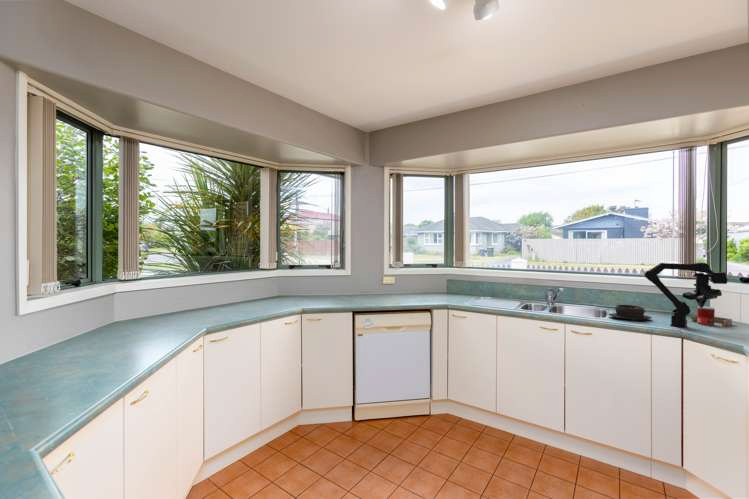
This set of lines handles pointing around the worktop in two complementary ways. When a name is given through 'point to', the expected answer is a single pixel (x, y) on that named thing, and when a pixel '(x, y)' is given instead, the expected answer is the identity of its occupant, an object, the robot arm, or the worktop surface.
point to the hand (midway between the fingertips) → (701, 307)
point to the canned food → (705, 315)
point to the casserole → (629, 312)
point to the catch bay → (717, 320)
